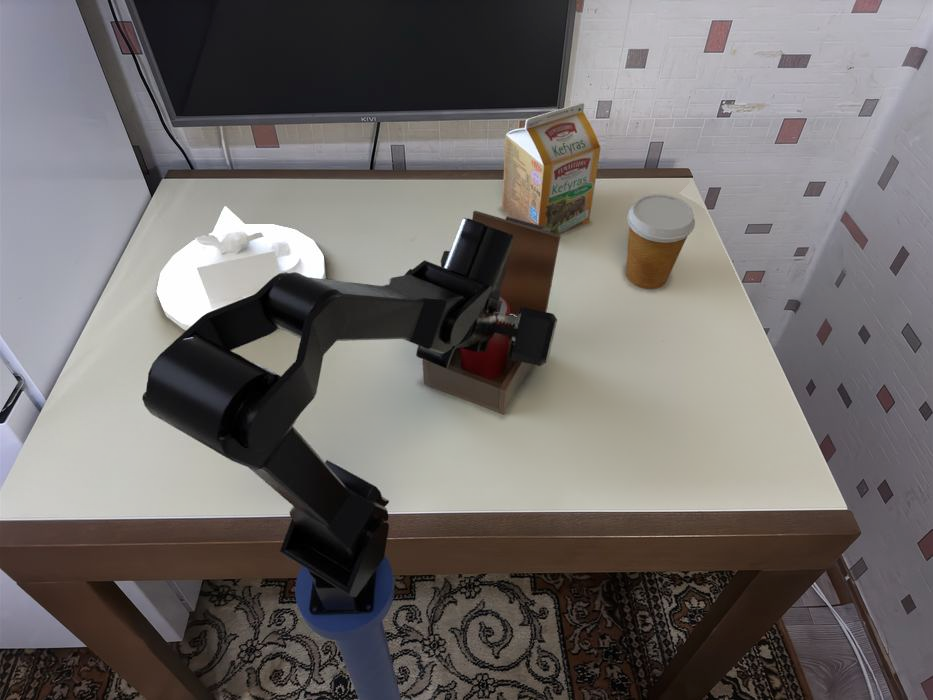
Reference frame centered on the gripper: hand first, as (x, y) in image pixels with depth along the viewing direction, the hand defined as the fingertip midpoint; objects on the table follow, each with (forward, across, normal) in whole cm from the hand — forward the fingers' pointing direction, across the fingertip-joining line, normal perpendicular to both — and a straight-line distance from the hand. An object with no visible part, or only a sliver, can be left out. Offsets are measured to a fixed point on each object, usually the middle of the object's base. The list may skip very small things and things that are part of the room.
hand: (487, 325), depth 87 cm
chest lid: (0, -1, -8) cm, 8 cm away
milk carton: (+29, 0, -20) cm, 35 cm away
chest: (+4, 0, +6) cm, 7 cm away
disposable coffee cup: (+22, -18, -12) cm, 31 cm away
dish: (+8, +40, +2) cm, 41 cm away
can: (+3, 0, +5) cm, 6 cm away
